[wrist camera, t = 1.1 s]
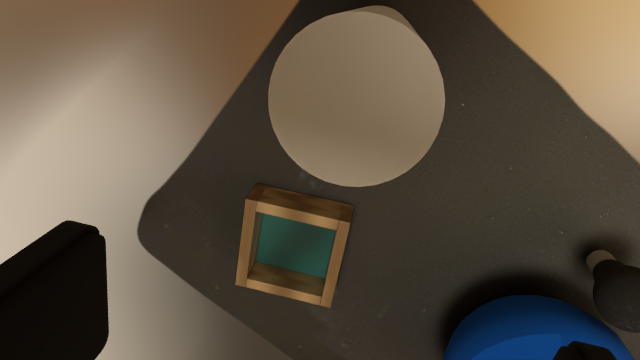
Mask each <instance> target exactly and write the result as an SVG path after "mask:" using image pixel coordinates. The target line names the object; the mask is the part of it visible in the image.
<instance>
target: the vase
mask: <svg viewBox="0 0 640 360" xmlns="http://www.w3.org/2000/svg"><path fill="white" fill-rule="evenodd" d="M572 341H579V342H584V343H588V344H592V345H596V346H600V347H605V348H607V349H609V350H610V351H611V352H612V353H613V355H614V356H615V358H616V360H634V358H633V357H632V355H631V354H630V352H629V351H628V349H627V348H626V346H625V345H624V344H623V342H622V341H621V340H620V338H619V337H618V335H617V334H616V333H615V332H614V331H612V330H611V329H610V328H609V327H607V326H606V325H605V324H604V323H602V322H601V321H600V320H598V319H597V318H595V317H593V316H592V315H590V314H588V313H586V312H584V311H583V310H581V309H579V308H577V307H575V306H573V305H571V304H568V303H566V302H564V301H561V300H559V299H556V298H550V297H545V296H539V295H511V296H507V297H503V298H498V299H495V300H493V301H491V302H489V303H486V304H484V305H482V306H480V307H479V308H477V309H475V310H474V311H473V312H472V313H470V314H469V315H468V316H467V317H466V318H464V319H463V320H462V321H461V323H460V324H459V325H458V327H457V328H456V330H455V331H454V333H453V334H452V336H451V339H450V341H449V343H448V346H447V348H446V350H445V353H444V357H443V360H553V358H554V356H555V354H556V353H557V351H558V349H559V348H560V347H562V346H568V345H569V343H571V342H572Z"/></svg>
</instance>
